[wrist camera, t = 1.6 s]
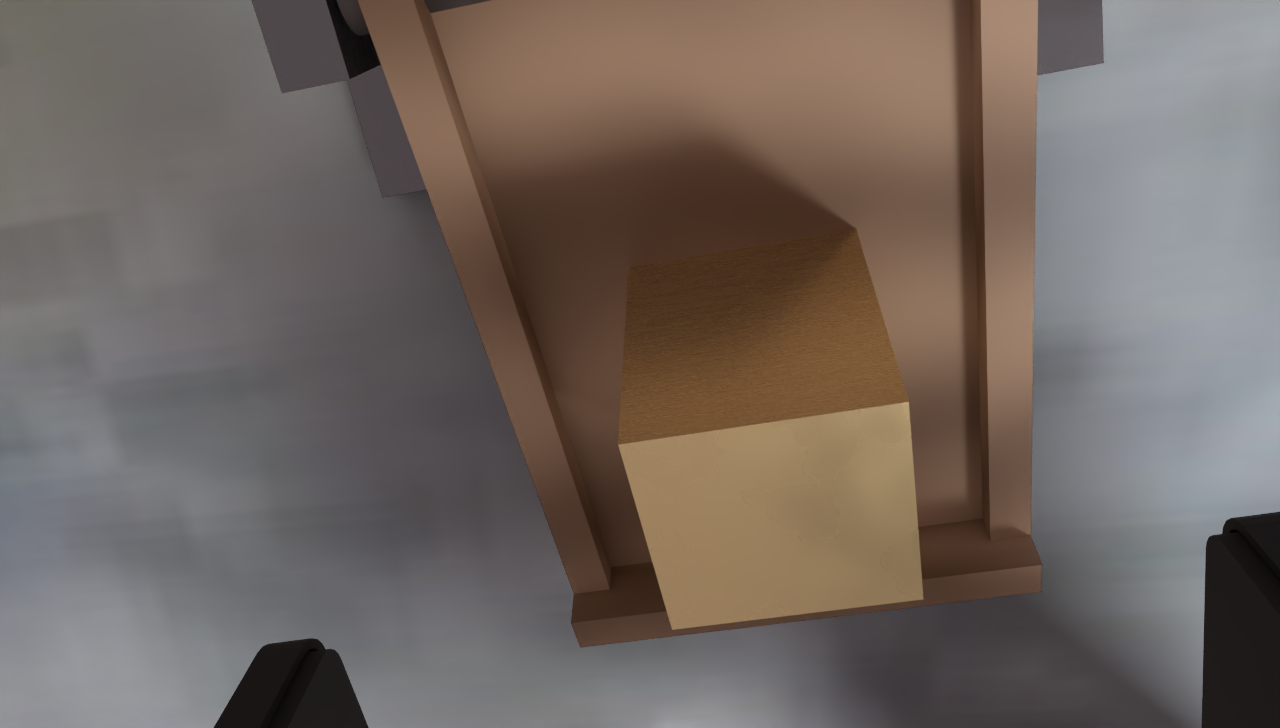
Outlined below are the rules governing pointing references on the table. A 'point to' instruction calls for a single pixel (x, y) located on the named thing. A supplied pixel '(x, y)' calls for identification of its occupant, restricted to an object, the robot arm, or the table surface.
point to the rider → (768, 433)
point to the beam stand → (331, 52)
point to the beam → (736, 231)
